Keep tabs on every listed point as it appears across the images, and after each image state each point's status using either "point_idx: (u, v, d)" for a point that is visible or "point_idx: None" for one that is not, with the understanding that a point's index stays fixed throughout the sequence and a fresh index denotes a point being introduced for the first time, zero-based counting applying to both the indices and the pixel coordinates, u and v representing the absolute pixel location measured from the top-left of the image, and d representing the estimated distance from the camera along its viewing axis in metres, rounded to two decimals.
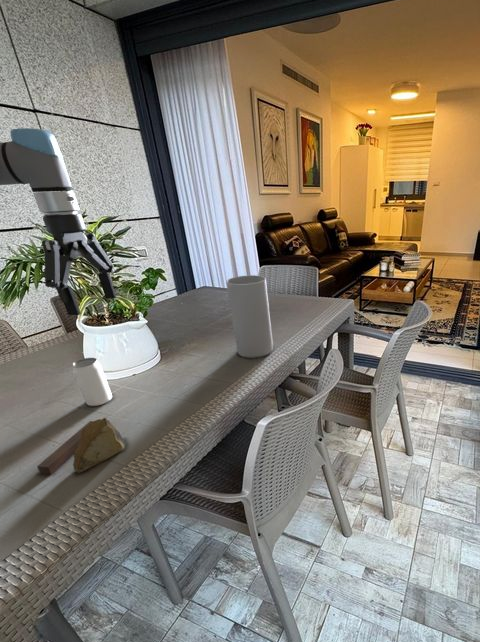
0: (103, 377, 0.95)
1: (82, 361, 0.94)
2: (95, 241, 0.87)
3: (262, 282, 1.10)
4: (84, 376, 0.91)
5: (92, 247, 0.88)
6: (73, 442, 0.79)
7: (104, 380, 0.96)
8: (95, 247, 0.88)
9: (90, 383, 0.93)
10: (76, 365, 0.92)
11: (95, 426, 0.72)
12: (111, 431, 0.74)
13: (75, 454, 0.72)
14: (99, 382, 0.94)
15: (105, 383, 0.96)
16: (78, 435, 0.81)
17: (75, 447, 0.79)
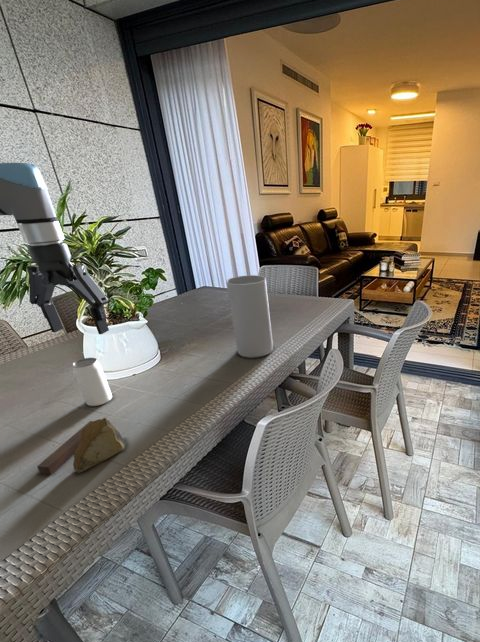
0: (103, 377, 0.95)
1: (82, 361, 0.94)
2: None
3: (262, 282, 1.10)
4: (84, 376, 0.91)
5: (37, 279, 0.84)
6: (73, 442, 0.79)
7: (104, 380, 0.96)
8: (40, 278, 0.85)
9: (90, 383, 0.93)
10: (76, 365, 0.92)
11: (95, 426, 0.72)
12: (111, 431, 0.74)
13: (75, 454, 0.72)
14: (99, 382, 0.94)
15: (105, 383, 0.96)
16: (78, 435, 0.81)
17: (75, 447, 0.79)
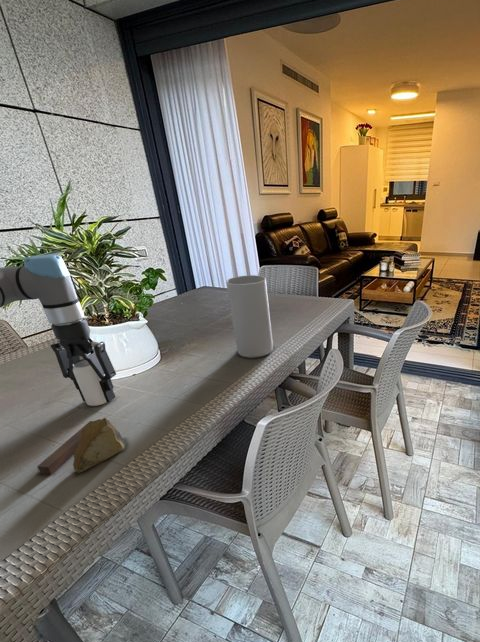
0: None
1: (82, 361, 0.94)
2: None
3: (262, 282, 1.10)
4: (84, 376, 0.91)
5: (63, 354, 0.92)
6: (73, 442, 0.79)
7: None
8: (65, 352, 0.93)
9: (90, 383, 0.93)
10: (76, 365, 0.92)
11: (95, 426, 0.72)
12: (111, 431, 0.74)
13: (75, 454, 0.72)
14: None
15: None
16: (78, 435, 0.81)
17: (75, 447, 0.79)
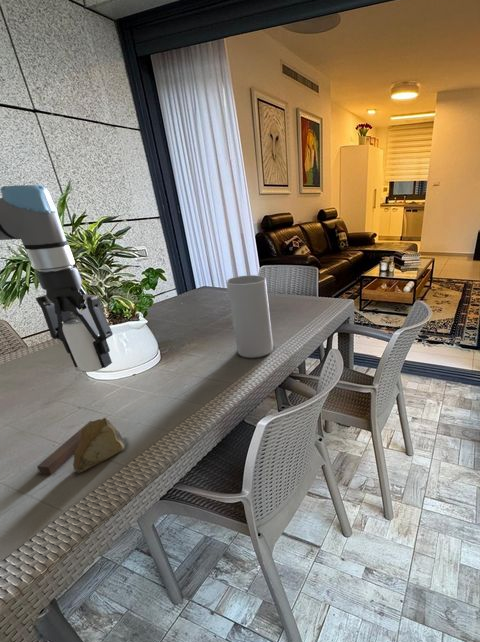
0: None
1: (74, 319, 0.81)
2: None
3: (262, 282, 1.10)
4: (75, 334, 0.79)
5: (51, 309, 0.79)
6: (73, 442, 0.79)
7: None
8: (53, 308, 0.80)
9: (83, 344, 0.80)
10: (66, 322, 0.79)
11: (95, 426, 0.72)
12: (111, 431, 0.74)
13: (75, 454, 0.72)
14: None
15: None
16: (78, 435, 0.81)
17: (75, 447, 0.79)
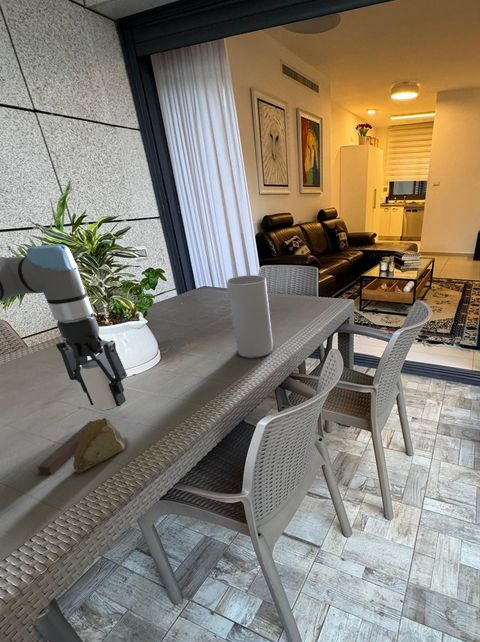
0: None
1: (91, 361, 0.86)
2: None
3: (262, 282, 1.10)
4: (92, 378, 0.84)
5: (69, 354, 0.85)
6: (73, 442, 0.79)
7: None
8: (72, 352, 0.85)
9: (99, 386, 0.85)
10: (84, 366, 0.84)
11: (95, 426, 0.72)
12: (111, 431, 0.74)
13: (75, 454, 0.72)
14: (108, 385, 0.86)
15: None
16: (78, 435, 0.81)
17: (75, 447, 0.79)
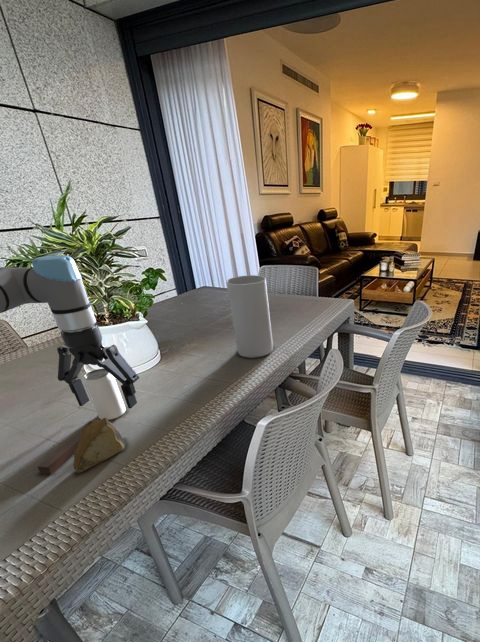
0: (116, 389, 0.89)
1: (95, 372, 0.88)
2: None
3: (262, 282, 1.10)
4: (97, 388, 0.85)
5: (67, 358, 0.85)
6: (73, 442, 0.79)
7: (117, 392, 0.89)
8: (69, 357, 0.86)
9: (103, 396, 0.86)
10: (89, 377, 0.86)
11: (95, 426, 0.72)
12: (111, 431, 0.74)
13: (75, 454, 0.72)
14: (112, 395, 0.88)
15: (118, 396, 0.90)
16: (78, 435, 0.81)
17: (75, 447, 0.79)
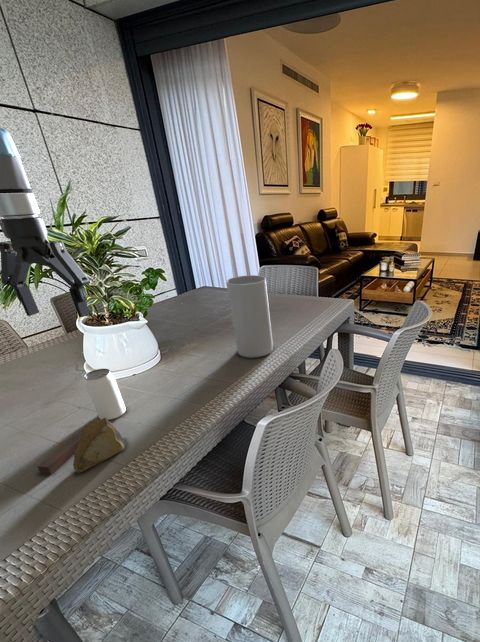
0: (116, 389, 0.89)
1: (95, 372, 0.88)
2: None
3: (262, 282, 1.10)
4: (97, 388, 0.85)
5: (10, 257, 0.78)
6: (73, 442, 0.79)
7: (117, 392, 0.89)
8: (13, 257, 0.79)
9: (103, 396, 0.86)
10: (89, 377, 0.86)
11: (95, 426, 0.72)
12: (111, 431, 0.74)
13: (75, 454, 0.72)
14: (112, 395, 0.88)
15: (118, 396, 0.90)
16: (78, 435, 0.81)
17: (75, 447, 0.79)
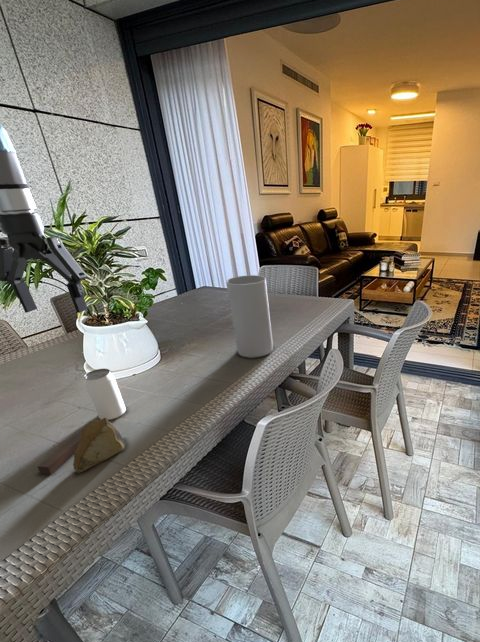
0: (116, 389, 0.89)
1: (95, 372, 0.88)
2: None
3: (262, 282, 1.10)
4: (97, 388, 0.85)
5: (7, 253, 0.78)
6: (73, 442, 0.79)
7: (117, 392, 0.89)
8: (10, 253, 0.79)
9: (103, 396, 0.86)
10: (89, 377, 0.86)
11: (95, 426, 0.72)
12: (111, 431, 0.74)
13: (75, 454, 0.72)
14: (112, 395, 0.88)
15: (118, 396, 0.90)
16: (78, 435, 0.81)
17: (75, 447, 0.79)
